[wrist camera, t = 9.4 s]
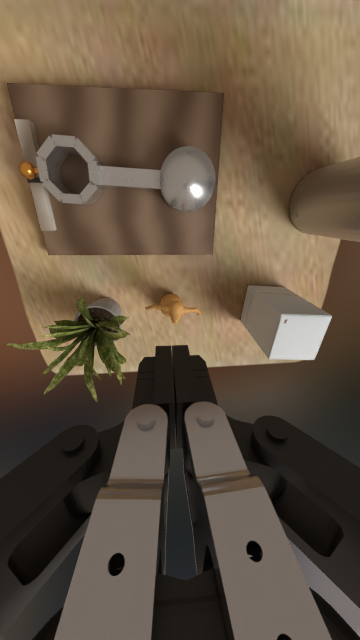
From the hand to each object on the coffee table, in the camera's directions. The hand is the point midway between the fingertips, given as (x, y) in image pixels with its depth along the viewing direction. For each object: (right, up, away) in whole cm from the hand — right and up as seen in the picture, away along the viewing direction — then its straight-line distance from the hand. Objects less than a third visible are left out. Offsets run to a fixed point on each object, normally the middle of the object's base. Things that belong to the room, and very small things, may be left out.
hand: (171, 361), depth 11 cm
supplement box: (+16, +5, +31) cm, 35 cm away
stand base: (-7, +21, +21) cm, 31 cm away
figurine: (-1, +6, +29) cm, 30 cm away
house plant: (-14, +3, +30) cm, 33 cm away
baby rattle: (-7, +21, +19) cm, 29 cm away
